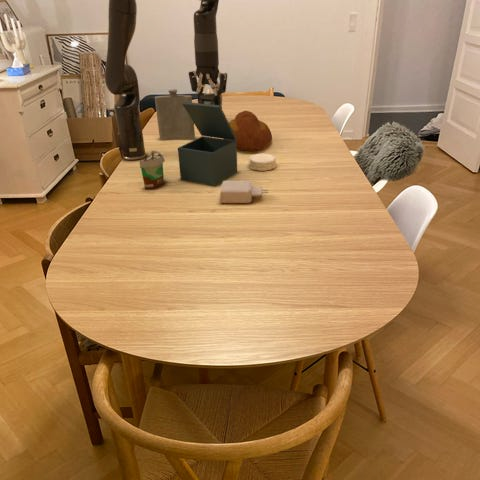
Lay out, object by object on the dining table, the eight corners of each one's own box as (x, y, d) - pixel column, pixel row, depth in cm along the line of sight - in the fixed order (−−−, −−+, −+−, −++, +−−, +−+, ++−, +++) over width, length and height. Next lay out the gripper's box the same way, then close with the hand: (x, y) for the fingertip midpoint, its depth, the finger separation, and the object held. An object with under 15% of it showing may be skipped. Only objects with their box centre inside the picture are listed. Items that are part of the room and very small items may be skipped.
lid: (219, 107, 152) (225, 93, 153) (181, 103, 157) (188, 90, 158) (236, 140, 166) (241, 127, 167) (201, 135, 172) (207, 123, 173)
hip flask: (159, 140, 210) (153, 91, 198) (160, 137, 213) (154, 89, 201) (194, 139, 209) (190, 90, 197) (195, 136, 212) (191, 88, 200)
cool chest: (215, 186, 163) (213, 153, 156) (180, 180, 169) (177, 147, 162) (237, 172, 173) (236, 140, 167) (204, 166, 179) (201, 136, 173)
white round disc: (243, 167, 177) (243, 158, 175) (261, 160, 183) (261, 151, 181) (264, 173, 172) (264, 163, 170) (281, 166, 178) (281, 156, 175)
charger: (267, 204, 149) (220, 204, 150) (268, 193, 156) (223, 193, 157) (268, 190, 146) (220, 189, 147) (268, 179, 153) (223, 179, 154)
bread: (224, 155, 189) (222, 123, 182) (222, 133, 216) (220, 104, 208) (276, 153, 190) (276, 121, 183) (267, 131, 216) (267, 102, 209)
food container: (160, 191, 160) (156, 162, 154) (143, 190, 161) (139, 161, 155) (171, 178, 170) (168, 150, 164) (155, 178, 171) (151, 150, 165)
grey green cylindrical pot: (227, 120, 235) (226, 93, 228) (215, 124, 228) (214, 98, 221) (210, 117, 239) (209, 92, 232) (198, 122, 233) (196, 96, 225)
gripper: (231, 48, 149) (233, 106, 159) (194, 47, 155) (197, 102, 165) (219, 51, 144) (221, 110, 154) (181, 49, 150) (185, 106, 159)
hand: (209, 106), depth 159 cm, fingers closed on lid, 5 cm apart
